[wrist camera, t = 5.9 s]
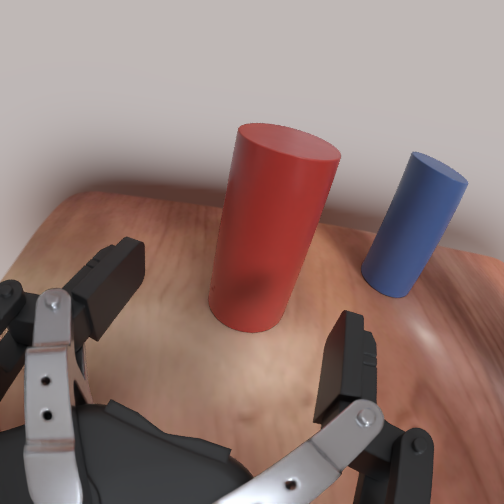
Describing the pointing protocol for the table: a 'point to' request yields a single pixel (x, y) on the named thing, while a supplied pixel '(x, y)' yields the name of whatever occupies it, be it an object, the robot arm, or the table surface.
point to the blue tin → (413, 225)
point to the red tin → (268, 222)
